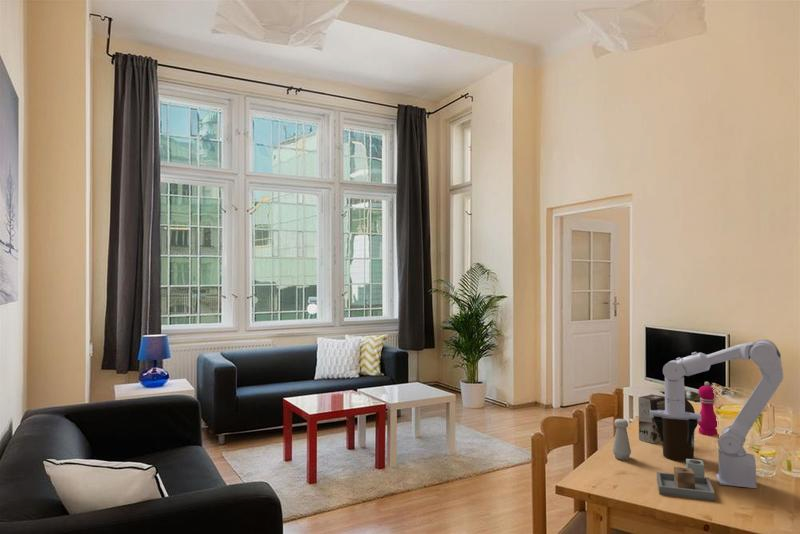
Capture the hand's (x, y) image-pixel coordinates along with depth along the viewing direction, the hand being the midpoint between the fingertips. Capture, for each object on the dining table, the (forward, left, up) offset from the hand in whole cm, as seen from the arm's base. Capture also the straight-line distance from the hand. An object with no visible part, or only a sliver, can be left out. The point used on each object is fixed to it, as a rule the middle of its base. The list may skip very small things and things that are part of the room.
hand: (675, 441), depth 177 cm
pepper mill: (-15, -48, -10) cm, 51 cm away
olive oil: (-2, -15, -10) cm, 18 cm away
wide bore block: (-5, +4, -10) cm, 11 cm away
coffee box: (+5, -33, -10) cm, 35 cm away
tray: (-1, +15, -9) cm, 18 cm away
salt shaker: (+16, -8, -10) cm, 20 cm away
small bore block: (-1, +15, -9) cm, 17 cm away
